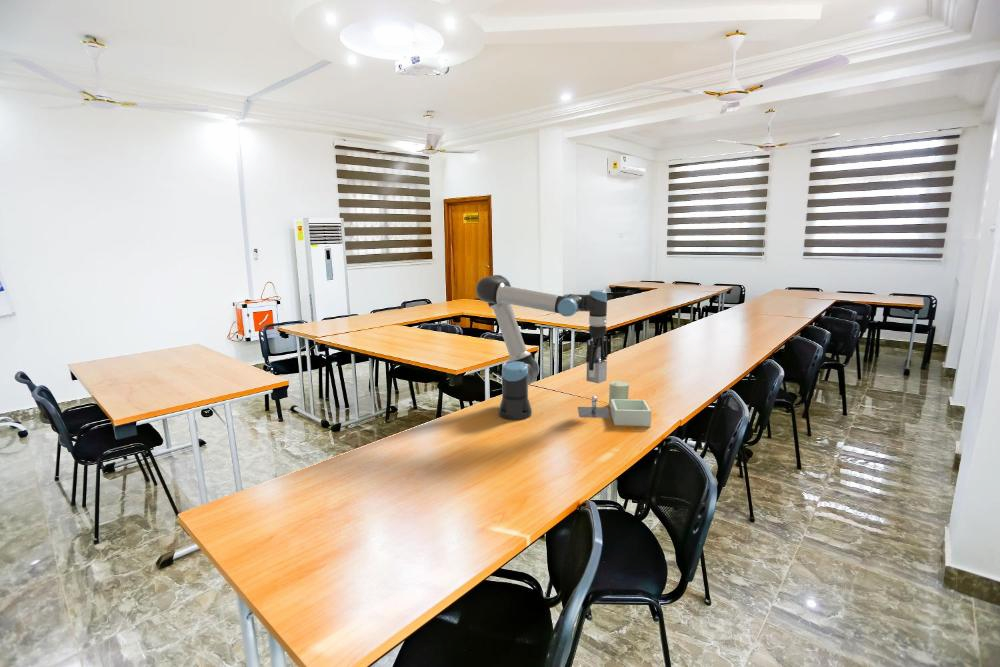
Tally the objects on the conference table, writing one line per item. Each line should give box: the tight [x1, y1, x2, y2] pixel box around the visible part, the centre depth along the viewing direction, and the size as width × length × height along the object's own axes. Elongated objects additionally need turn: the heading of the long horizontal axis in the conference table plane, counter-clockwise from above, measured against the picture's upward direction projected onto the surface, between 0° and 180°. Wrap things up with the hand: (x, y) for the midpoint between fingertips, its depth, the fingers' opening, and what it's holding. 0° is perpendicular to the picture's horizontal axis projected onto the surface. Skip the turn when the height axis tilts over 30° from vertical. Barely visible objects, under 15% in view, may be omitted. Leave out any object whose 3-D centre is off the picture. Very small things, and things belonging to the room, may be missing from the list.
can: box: [608, 380, 630, 408], centre depth 235 cm, size 9×9×12 cm
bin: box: [610, 398, 652, 428], centre depth 218 cm, size 15×15×7 cm
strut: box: [586, 346, 608, 384], centre depth 223 cm, size 6×6×16 cm
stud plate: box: [577, 395, 612, 419], centre depth 227 cm, size 14×14×8 cm
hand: (596, 375), depth 224 cm, fingers closed on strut, 6 cm apart
